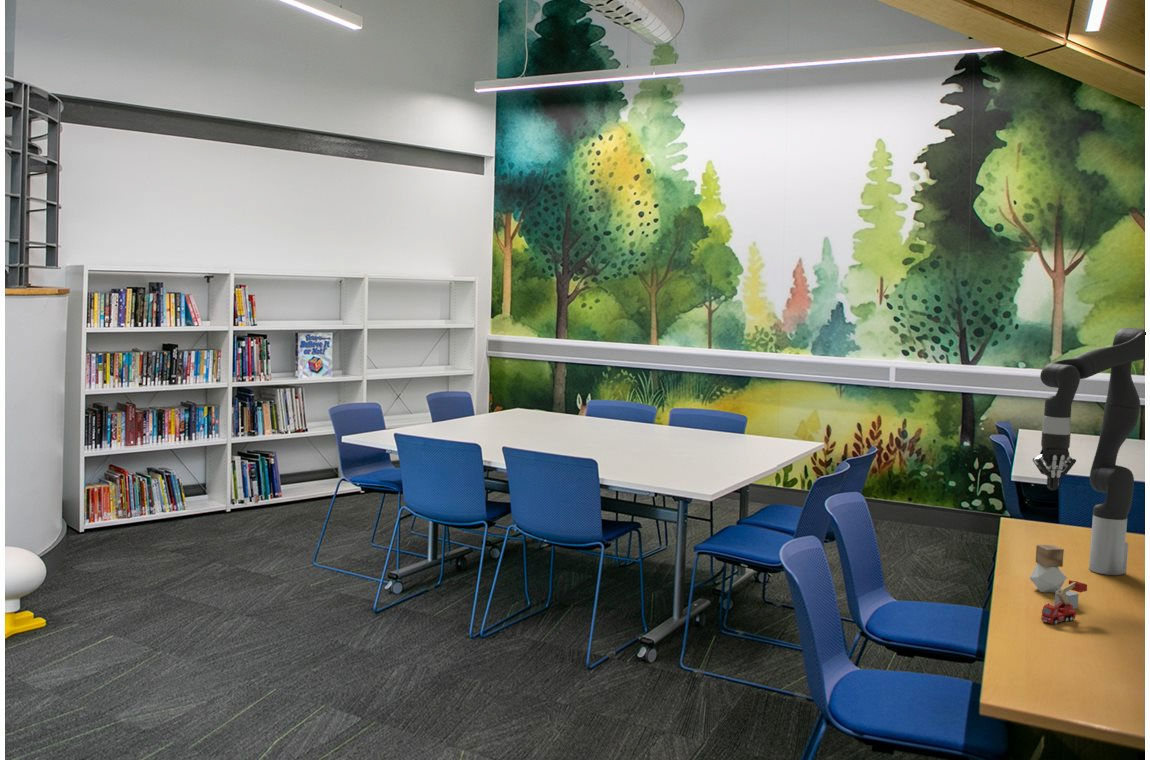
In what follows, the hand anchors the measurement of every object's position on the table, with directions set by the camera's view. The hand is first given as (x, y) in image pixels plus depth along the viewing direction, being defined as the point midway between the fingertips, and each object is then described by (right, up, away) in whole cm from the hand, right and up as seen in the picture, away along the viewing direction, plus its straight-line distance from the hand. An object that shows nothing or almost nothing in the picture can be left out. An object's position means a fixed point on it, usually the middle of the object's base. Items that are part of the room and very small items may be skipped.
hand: (1052, 489), depth 279 cm
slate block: (-8, -29, -24) cm, 38 cm away
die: (-6, -28, -10) cm, 30 cm away
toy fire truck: (-15, -30, -35) cm, 48 cm away
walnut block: (-6, -20, -10) cm, 23 cm away
